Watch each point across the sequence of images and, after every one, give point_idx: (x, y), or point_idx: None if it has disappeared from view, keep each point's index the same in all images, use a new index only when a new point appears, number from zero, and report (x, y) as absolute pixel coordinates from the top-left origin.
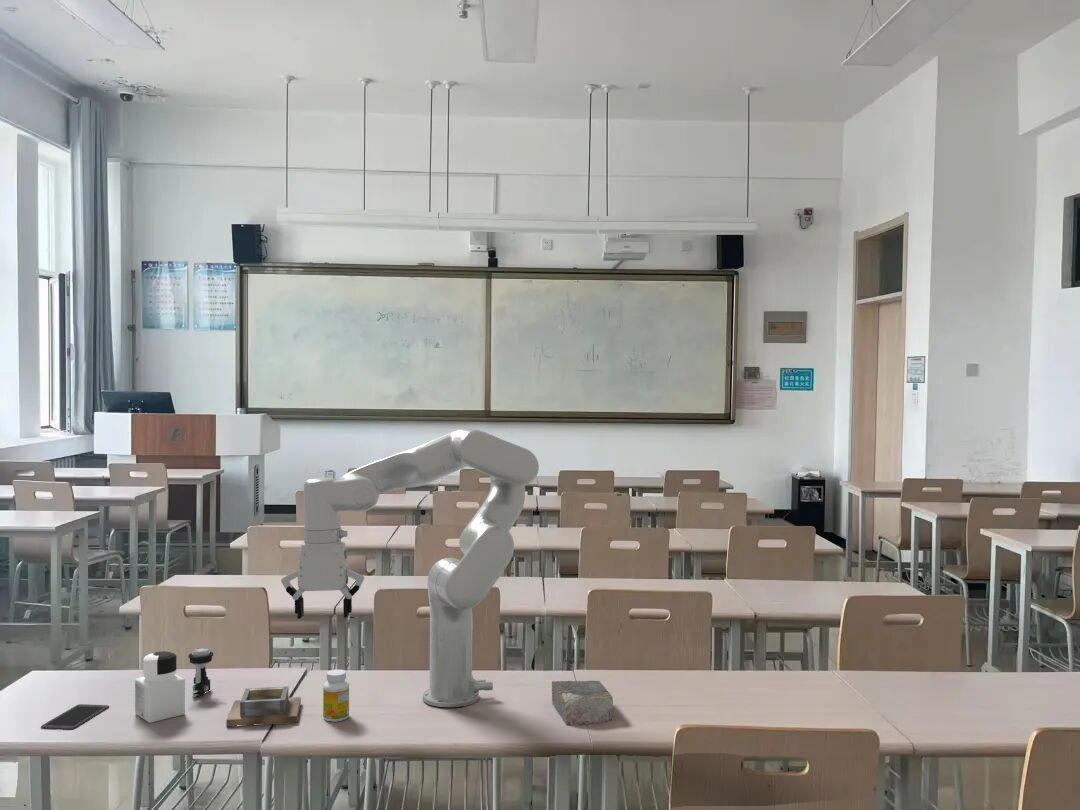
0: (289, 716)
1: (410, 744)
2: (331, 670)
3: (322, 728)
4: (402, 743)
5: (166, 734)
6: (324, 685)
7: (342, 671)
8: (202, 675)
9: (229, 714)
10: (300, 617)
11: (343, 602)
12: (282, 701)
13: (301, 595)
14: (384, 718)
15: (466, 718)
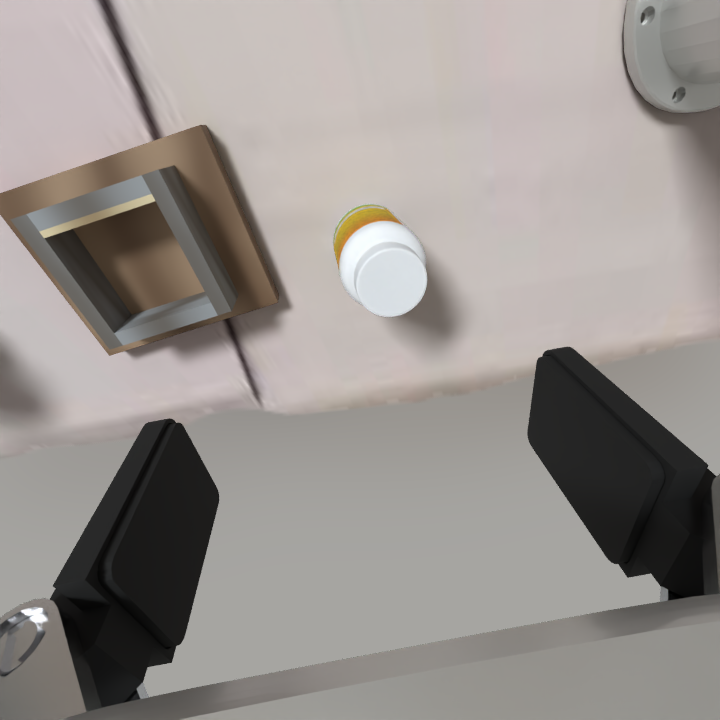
0: (260, 307)
1: None
2: (366, 265)
3: (357, 315)
4: None
5: (13, 404)
6: (349, 292)
7: (413, 270)
8: None
9: (84, 320)
10: (216, 502)
11: (598, 544)
12: (225, 311)
13: (106, 654)
14: (498, 225)
15: (709, 194)
